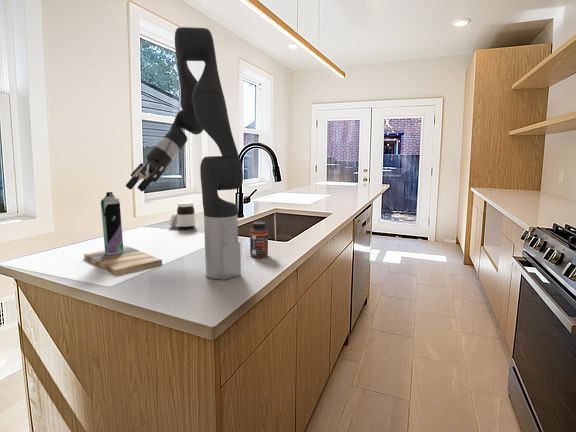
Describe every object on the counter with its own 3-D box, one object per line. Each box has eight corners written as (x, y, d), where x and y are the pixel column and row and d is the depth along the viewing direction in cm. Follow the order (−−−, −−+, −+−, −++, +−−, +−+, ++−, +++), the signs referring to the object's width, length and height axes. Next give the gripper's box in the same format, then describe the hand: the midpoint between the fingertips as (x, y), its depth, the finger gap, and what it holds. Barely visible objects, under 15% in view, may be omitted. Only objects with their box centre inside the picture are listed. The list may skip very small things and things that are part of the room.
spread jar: (195, 230, 163) (194, 204, 161) (168, 231, 161) (166, 204, 159) (195, 224, 175) (194, 200, 173) (170, 226, 172) (169, 201, 170)
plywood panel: (162, 264, 114) (161, 259, 114) (116, 275, 104) (115, 269, 104) (127, 250, 130) (126, 245, 130) (84, 258, 120) (84, 253, 120)
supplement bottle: (255, 259, 120) (255, 225, 118) (247, 255, 125) (246, 222, 123) (271, 256, 123) (271, 223, 121) (262, 252, 128) (262, 220, 126)
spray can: (116, 255, 118) (111, 193, 114) (101, 254, 119) (95, 192, 116) (127, 251, 123) (122, 191, 120) (112, 250, 124) (107, 190, 121)
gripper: (145, 146, 132) (115, 180, 126) (166, 145, 123) (135, 182, 116) (160, 160, 137) (132, 194, 130) (181, 161, 127) (152, 197, 121)
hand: (133, 188), depth 123 cm, fingers open, 8 cm apart
